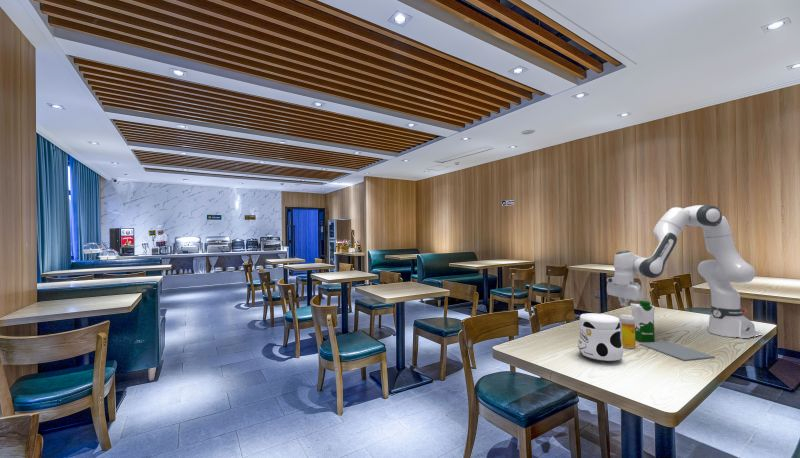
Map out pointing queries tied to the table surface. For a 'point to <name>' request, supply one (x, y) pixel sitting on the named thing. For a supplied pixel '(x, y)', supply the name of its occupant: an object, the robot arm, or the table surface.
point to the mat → (676, 350)
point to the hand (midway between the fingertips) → (624, 306)
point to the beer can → (627, 331)
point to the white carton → (643, 321)
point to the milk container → (600, 337)
